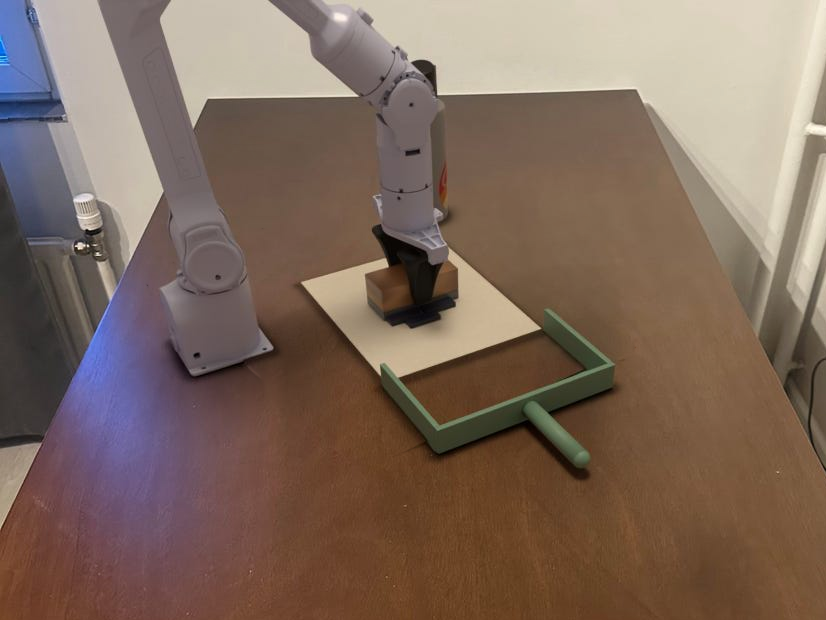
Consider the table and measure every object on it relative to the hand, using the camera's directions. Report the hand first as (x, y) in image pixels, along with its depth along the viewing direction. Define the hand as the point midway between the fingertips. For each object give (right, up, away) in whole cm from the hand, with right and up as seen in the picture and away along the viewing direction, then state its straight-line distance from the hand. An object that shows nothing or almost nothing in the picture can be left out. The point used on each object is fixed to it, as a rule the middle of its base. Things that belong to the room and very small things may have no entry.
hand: (413, 291), depth 106 cm
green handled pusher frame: (+12, -16, -14) cm, 24 cm away
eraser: (0, -1, +1) cm, 1 cm away
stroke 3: (+3, -2, 0) cm, 4 cm away
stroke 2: (+1, -4, -2) cm, 5 cm away
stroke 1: (-1, -4, -2) cm, 4 cm away
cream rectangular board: (0, -2, +1) cm, 2 cm away
